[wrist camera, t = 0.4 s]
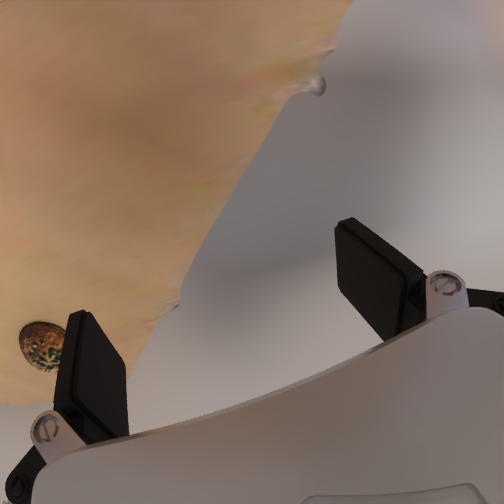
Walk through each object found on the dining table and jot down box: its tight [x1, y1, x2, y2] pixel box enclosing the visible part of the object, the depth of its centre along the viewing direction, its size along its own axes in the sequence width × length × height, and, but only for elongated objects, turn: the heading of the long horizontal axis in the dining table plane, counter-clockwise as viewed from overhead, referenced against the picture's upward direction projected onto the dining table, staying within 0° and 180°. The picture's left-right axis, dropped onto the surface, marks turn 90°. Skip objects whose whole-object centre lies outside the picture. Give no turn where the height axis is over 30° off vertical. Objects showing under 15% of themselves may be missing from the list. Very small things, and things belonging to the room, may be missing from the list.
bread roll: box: [19, 322, 65, 374], centre depth 42 cm, size 11×11×5 cm
